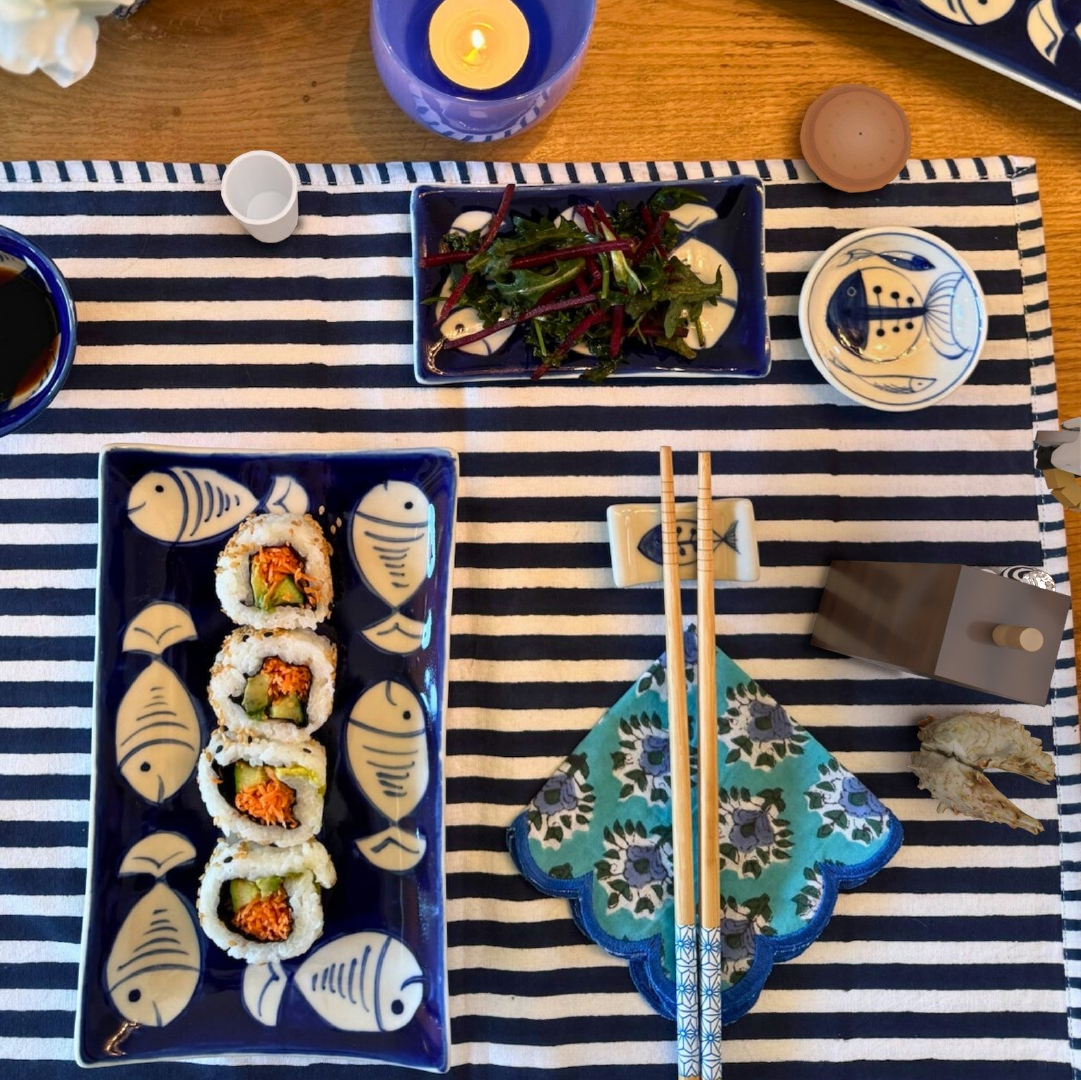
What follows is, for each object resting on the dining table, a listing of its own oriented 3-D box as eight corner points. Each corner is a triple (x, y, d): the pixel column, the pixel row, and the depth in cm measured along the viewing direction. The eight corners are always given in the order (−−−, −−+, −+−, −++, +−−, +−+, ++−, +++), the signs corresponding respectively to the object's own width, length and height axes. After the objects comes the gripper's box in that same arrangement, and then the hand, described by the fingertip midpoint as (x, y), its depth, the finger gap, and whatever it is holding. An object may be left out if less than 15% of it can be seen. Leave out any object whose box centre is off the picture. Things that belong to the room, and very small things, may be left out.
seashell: (1072, 865, 123) (1114, 749, 126) (933, 788, 124) (979, 676, 128) (985, 847, 140) (1025, 746, 144) (865, 780, 142) (907, 682, 145)
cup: (222, 215, 147) (204, 184, 134) (274, 169, 148) (261, 134, 135) (269, 266, 147) (256, 240, 134) (321, 220, 147) (313, 190, 134)
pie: (884, 213, 148) (901, 202, 143) (778, 183, 148) (791, 171, 143) (911, 112, 149) (928, 96, 144) (806, 82, 149) (820, 66, 144)
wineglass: (994, 613, 144) (1047, 619, 132) (957, 593, 144) (1006, 597, 132) (1013, 577, 144) (1068, 580, 132) (976, 556, 144) (1027, 557, 132)
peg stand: (915, 584, 144) (1103, 599, 105) (893, 669, 143) (1075, 715, 104) (831, 560, 144) (988, 565, 105) (809, 644, 143) (959, 680, 104)
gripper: (1082, 455, 94) (973, 472, 112) (1258, 506, 93) (1120, 514, 112) (1101, 376, 94) (990, 405, 113) (1276, 426, 94) (1136, 447, 112)
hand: (1056, 459), depth 112 cm, fingers closed on ring, 2 cm apart
